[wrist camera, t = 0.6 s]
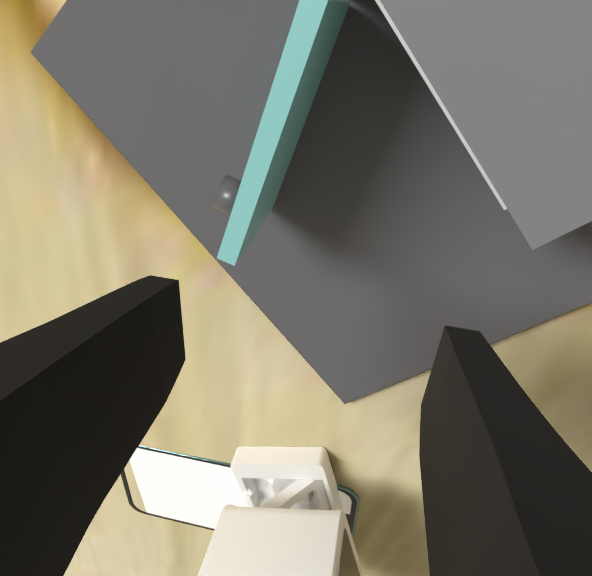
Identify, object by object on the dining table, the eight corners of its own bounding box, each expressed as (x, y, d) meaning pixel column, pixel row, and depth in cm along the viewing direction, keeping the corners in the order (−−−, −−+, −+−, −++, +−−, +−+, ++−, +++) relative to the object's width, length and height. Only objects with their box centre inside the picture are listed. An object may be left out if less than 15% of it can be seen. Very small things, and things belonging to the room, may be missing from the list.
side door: (370, -34, 13) (354, -53, 9) (276, 210, 18) (238, 268, 14) (316, -60, 13) (276, -90, 9) (235, 192, 18) (186, 244, 14)
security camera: (370, 513, 27) (354, 733, 19) (262, 508, 30) (206, 704, 21) (351, 440, 25) (322, 663, 16) (233, 441, 27) (154, 638, 18)
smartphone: (134, 504, 34) (349, 555, 31) (130, 511, 33) (348, 563, 30) (114, 432, 29) (361, 484, 27) (110, 439, 29) (360, 492, 26)
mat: (939, -1219, 6) (963, -1273, 6) (1088, 89, 12) (1103, 90, 12) (36, 51, 17) (30, 52, 17) (345, 400, 23) (344, 404, 23)
